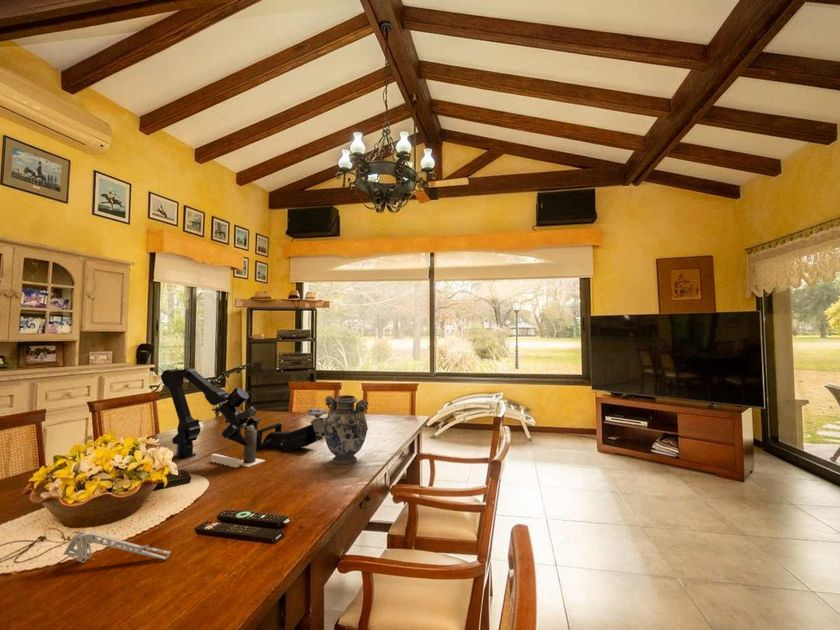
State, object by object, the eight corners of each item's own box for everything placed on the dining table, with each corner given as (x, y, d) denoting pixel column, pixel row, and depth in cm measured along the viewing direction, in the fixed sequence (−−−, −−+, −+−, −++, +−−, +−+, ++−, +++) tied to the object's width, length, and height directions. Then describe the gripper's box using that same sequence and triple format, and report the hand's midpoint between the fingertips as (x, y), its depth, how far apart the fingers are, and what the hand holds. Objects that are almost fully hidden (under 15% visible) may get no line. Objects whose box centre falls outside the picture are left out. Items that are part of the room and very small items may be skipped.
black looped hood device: (306, 446, 182) (295, 414, 185) (257, 465, 189) (247, 434, 191) (325, 437, 199) (315, 408, 201) (279, 454, 205) (270, 426, 207)
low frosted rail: (211, 461, 172) (211, 454, 172) (214, 460, 173) (214, 453, 174) (236, 467, 166) (236, 460, 166) (239, 466, 167) (239, 459, 167)
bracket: (72, 549, 99) (93, 511, 100) (152, 586, 100) (173, 548, 101) (62, 556, 96) (84, 517, 97) (145, 594, 97) (167, 556, 98)
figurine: (307, 434, 221) (308, 406, 222) (328, 435, 221) (329, 407, 222) (302, 438, 212) (303, 409, 213) (324, 439, 212) (325, 410, 212)
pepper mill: (241, 463, 170) (243, 426, 170) (245, 459, 175) (247, 424, 175) (253, 463, 170) (254, 426, 171) (257, 459, 175) (258, 424, 176)
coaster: (233, 463, 170) (233, 462, 170) (250, 457, 178) (250, 457, 178) (248, 467, 166) (248, 466, 166) (265, 461, 174) (265, 460, 174)
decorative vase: (376, 457, 183) (377, 395, 184) (356, 470, 166) (357, 401, 167) (334, 451, 190) (335, 392, 191) (311, 464, 173) (313, 398, 174)
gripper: (229, 405, 165) (252, 435, 162) (256, 398, 183) (277, 425, 181) (211, 423, 166) (234, 453, 164) (240, 415, 185) (261, 441, 182)
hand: (253, 442), depth 172 cm, fingers open, 9 cm apart
